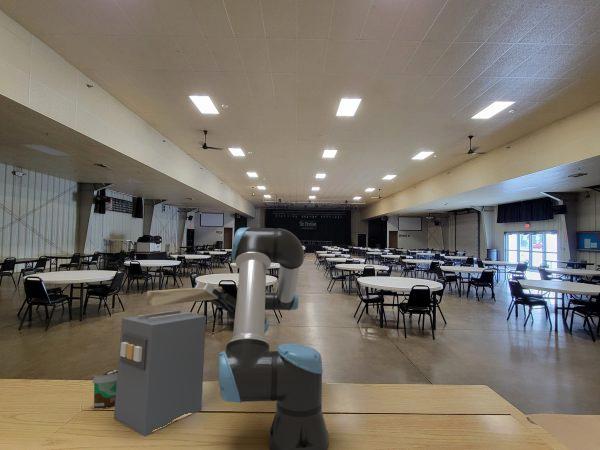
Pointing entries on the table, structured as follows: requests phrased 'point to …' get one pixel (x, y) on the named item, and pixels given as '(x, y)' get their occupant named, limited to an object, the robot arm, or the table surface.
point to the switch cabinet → (159, 369)
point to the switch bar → (178, 296)
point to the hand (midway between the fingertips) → (201, 285)
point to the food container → (105, 389)
